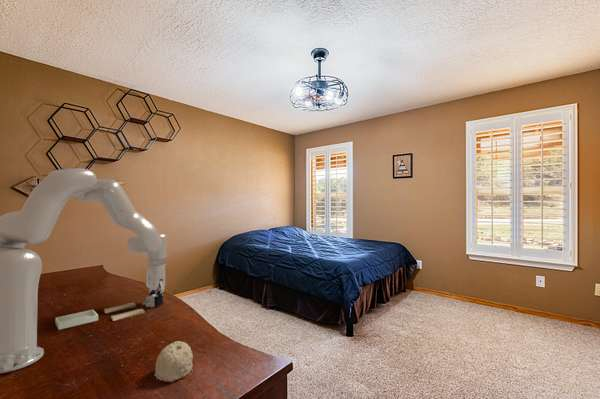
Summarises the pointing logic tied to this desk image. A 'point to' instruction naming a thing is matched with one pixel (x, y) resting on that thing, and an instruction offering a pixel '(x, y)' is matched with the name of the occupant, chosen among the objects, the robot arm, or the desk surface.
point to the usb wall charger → (150, 301)
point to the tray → (76, 319)
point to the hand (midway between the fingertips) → (155, 303)
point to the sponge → (174, 361)
